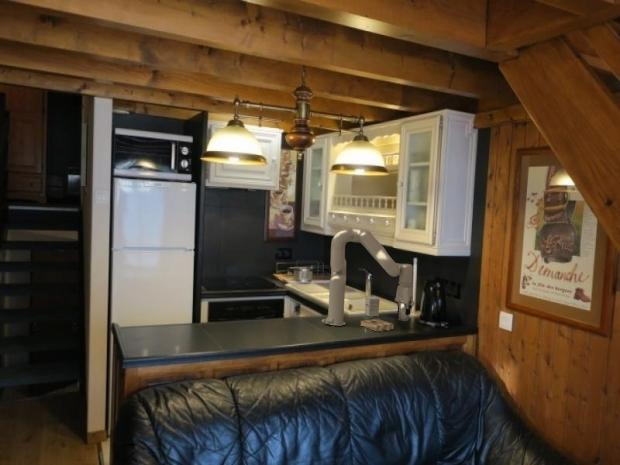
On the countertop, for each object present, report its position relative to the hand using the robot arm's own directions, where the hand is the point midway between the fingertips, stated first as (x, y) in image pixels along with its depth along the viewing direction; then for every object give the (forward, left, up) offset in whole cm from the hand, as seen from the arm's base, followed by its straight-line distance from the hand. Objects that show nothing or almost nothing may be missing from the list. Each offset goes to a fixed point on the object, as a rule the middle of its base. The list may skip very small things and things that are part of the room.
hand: (403, 313), depth 299 cm
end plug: (0, 0, -4) cm, 4 cm away
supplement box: (+8, +36, -10) cm, 38 cm away
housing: (-12, +10, -10) cm, 19 cm away
